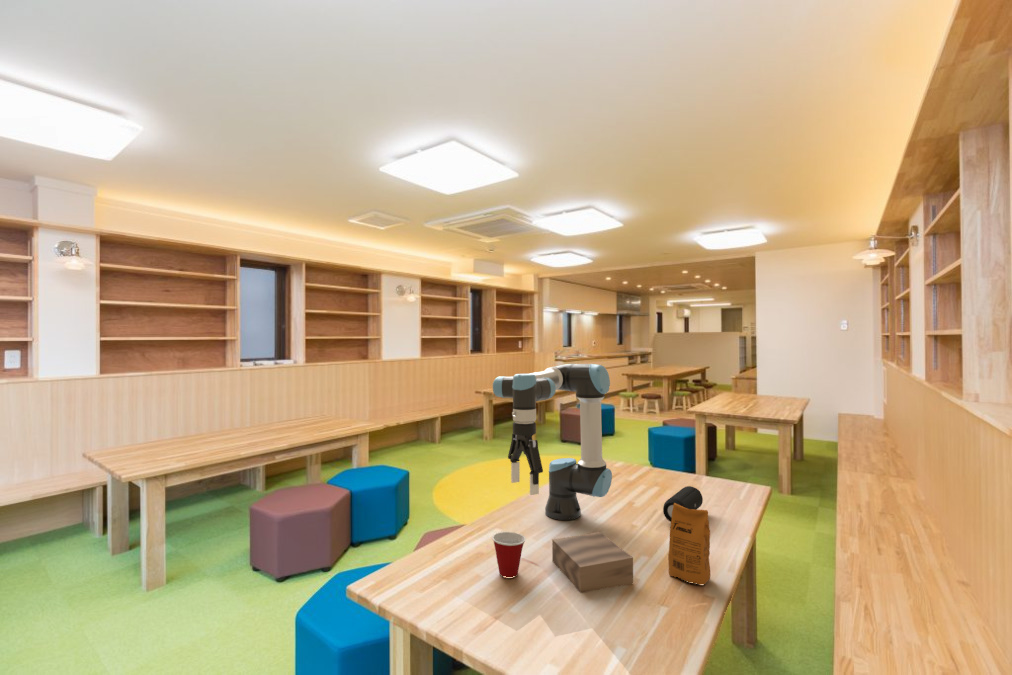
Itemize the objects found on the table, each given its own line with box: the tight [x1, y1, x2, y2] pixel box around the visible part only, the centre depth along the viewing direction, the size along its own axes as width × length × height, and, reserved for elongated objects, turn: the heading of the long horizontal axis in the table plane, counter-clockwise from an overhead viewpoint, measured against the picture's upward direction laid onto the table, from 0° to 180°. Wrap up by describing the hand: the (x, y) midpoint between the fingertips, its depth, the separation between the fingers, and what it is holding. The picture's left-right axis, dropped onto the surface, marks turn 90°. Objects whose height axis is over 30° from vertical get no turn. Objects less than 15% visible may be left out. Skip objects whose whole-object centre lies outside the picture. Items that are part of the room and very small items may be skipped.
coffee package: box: [667, 503, 711, 585], centre depth 144 cm, size 10×12×22 cm
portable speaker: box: [662, 485, 704, 523], centre depth 194 cm, size 26×10×10 cm, turn 141°
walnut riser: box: [551, 531, 634, 593], centre depth 146 cm, size 20×18×8 cm
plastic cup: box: [491, 531, 527, 577], centre depth 146 cm, size 11×11×12 cm
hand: (524, 488), depth 146 cm, fingers open, 13 cm apart
